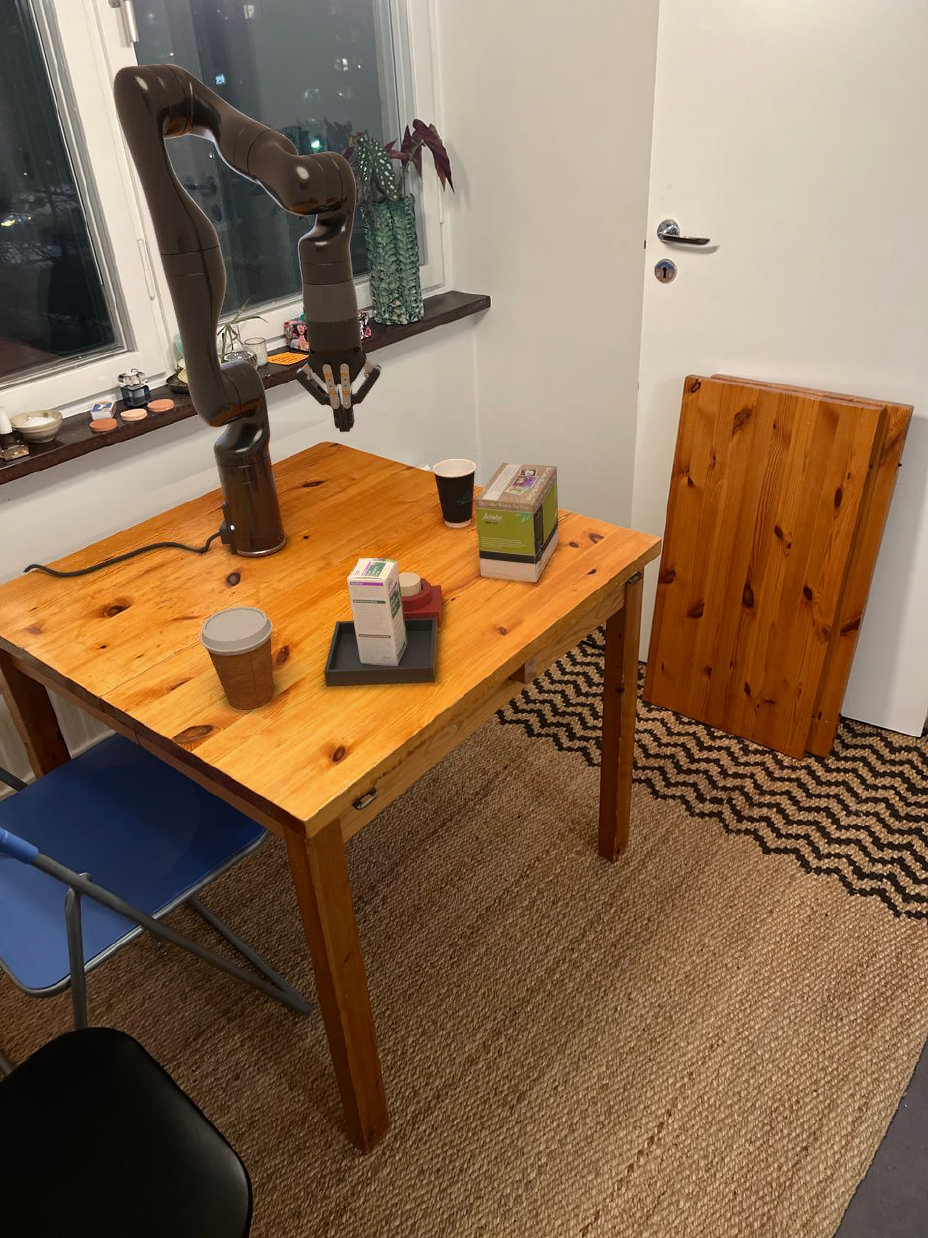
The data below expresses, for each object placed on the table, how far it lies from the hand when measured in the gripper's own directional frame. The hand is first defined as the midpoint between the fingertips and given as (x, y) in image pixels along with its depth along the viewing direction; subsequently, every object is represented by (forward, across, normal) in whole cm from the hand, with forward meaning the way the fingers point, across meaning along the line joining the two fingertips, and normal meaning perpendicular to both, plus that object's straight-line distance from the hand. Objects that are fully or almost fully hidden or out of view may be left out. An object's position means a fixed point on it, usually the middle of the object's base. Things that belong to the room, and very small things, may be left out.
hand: (345, 430), depth 137 cm
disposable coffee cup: (+27, +12, +30) cm, 42 cm away
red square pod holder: (+27, -8, +10) cm, 30 cm away
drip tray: (+27, -5, +22) cm, 35 cm away
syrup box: (+26, -5, +22) cm, 35 cm away
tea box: (+27, -26, -6) cm, 38 cm away
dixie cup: (+27, -15, -22) cm, 38 cm away
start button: (+22, -8, +10) cm, 26 cm away
